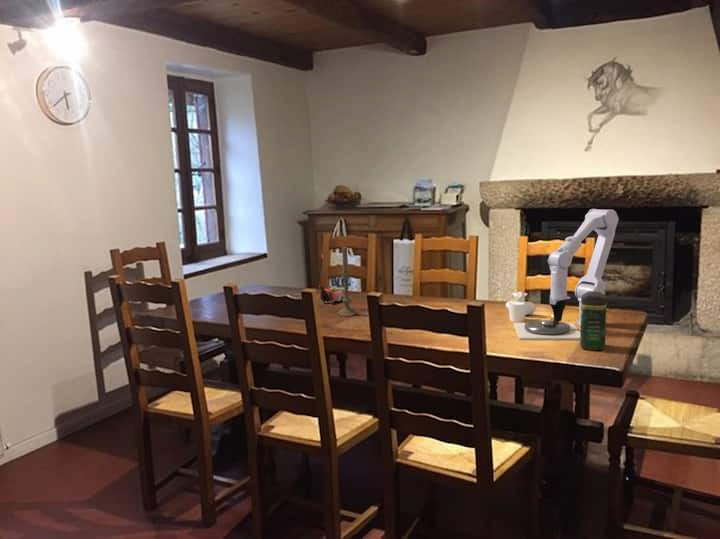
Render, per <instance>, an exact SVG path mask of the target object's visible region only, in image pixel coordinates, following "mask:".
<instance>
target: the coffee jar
mask: <svg viewBox="0 0 720 539" xmlns="http://www.w3.org/2000/svg"><path fill="white" fill-rule="evenodd" d="M606 330H607V296H606V295H604V294H602V293H601V292H593V291H588V292H587V293H585V294H583V295H582V297H581V326H580V340H579V344H580V348H582V349H584V350H589V351H600V350H601V351H602V350H604V349H605V347H606V335H607V333H606Z"/></svg>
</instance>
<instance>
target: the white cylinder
mask: <svg viewBox="0 0 720 539" xmlns="http://www.w3.org/2000/svg"><path fill="white" fill-rule="evenodd" d="M509 302H510V301H509ZM507 303H508V302H507ZM508 304H509V312H508V315H509V320H510V322H512V323H524V322H525V321H526V320H525V319H526V315H525V311H526V303H524V302H510V303H508Z"/></svg>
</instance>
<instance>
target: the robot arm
mask: <svg viewBox="0 0 720 539" xmlns="http://www.w3.org/2000/svg"><path fill="white" fill-rule="evenodd" d="M619 219H620V218H619V216H618V214H617V211H615V209H597V208H591V209H589V211H588V212H587V213H586V214H585V216H584V221H583V222H582V223H581V225H580V226H579V227H578V229H577V230H576V232H575V233H574V234H573V236H572V235H571V236H568V237H566V238H565V239H564V241H563V243H562V244H560V246H559V247H558V248H557V250H555V251H552V252H551V253H550V254H549V255H548V258H547V263H548V265H549V270H550V295H549V305H550V307H551V309H552V312H553V313H552V314H554V320H555V321H559V322H562V319H563V314H564V310H565V308H566V306H567V304H568V301H567V300H570V299H571V296H569V295H568V270H569V269H568V268H569V267H570V266H571V264H572V262H573V260H572V259H573V258H574V256H575V255H576V253H577V252H578V251H579V250H580V248H581V247H582V241H584V239H586V238H587V237H588V235H589V234H590V233H592V231H594V232H596V234H597V235H598V236H597V239H596V241H595V242H596V243H595V245H594V250H593V252H592V255H591V259H590V261H589V262H590V263H589V265H588V267H587V268H588V269H587V272H586V274H585V275H583V276H582V277H580V279H579V281H578V282H577V284H576V286H575V289H574V295H575V297H576V298H577V301H578V302H579V304H578V306H579V308H578V320H576V321H575V322H576V323H577V324H578V326H579V327H581V297H582V295H583V294H585V293H587V292H588V291H593V292H601V293H602V294H604V295H605V294H606V291H605V290H606V283H605V281H604V280H603V279H602V277H603V274H604V272H605V267H606V264H607V260H608V258H609V254H610V251H611V248H612V245H613V241H614V237H615V234H616V229H617V225H618V223H619ZM605 296H606V295H605ZM565 300H566V301H565Z"/></svg>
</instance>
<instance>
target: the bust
mask: <svg viewBox="0 0 720 539" xmlns="http://www.w3.org/2000/svg"><path fill="white" fill-rule="evenodd" d="M512 295H513V296H514V300H515V301H514V300H512V301H510V300H509V301H508V302H506V303H505V308H506V309H507V311H508V313H509V304H508V303H510V302H524V303H526V311H525V316H527V315H533V314H534V313H535V310H536V304H535V303H534V302H531V301H525V300H526V298H525V297H527V296H528V293H524V292H523V291H520V290H519V291H517V292H512Z"/></svg>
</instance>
